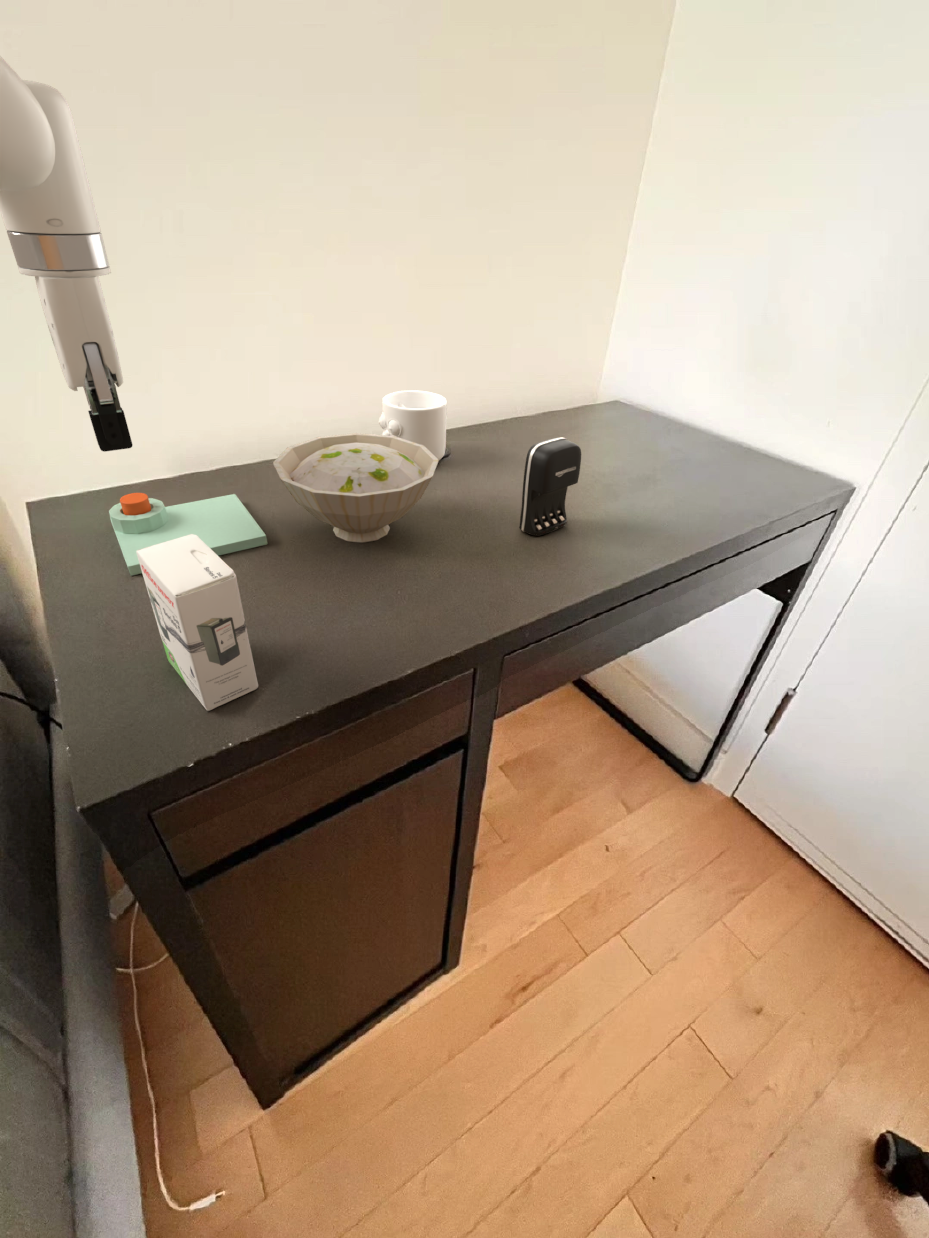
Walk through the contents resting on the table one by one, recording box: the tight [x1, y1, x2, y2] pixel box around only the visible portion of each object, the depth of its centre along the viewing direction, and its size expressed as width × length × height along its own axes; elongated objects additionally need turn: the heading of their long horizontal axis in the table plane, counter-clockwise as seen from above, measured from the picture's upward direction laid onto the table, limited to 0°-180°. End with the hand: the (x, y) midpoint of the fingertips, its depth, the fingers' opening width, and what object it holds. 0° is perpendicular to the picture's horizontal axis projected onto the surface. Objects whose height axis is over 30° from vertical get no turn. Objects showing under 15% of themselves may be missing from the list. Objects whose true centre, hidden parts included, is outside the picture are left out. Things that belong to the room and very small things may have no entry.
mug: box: [378, 389, 448, 461], centre depth 95 cm, size 12×10×9 cm
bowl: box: [272, 432, 440, 543], centre depth 75 cm, size 19×19×10 cm
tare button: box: [119, 492, 151, 516], centre depth 72 cm, size 3×3×2 cm
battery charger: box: [518, 436, 582, 537], centre depth 76 cm, size 7×4×11 cm, turn 130°
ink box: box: [136, 534, 259, 712], centre depth 51 cm, size 9×5×12 cm, turn 42°
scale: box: [108, 493, 268, 577], centre depth 73 cm, size 15×13×3 cm
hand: (116, 447), depth 68 cm, fingers closed
